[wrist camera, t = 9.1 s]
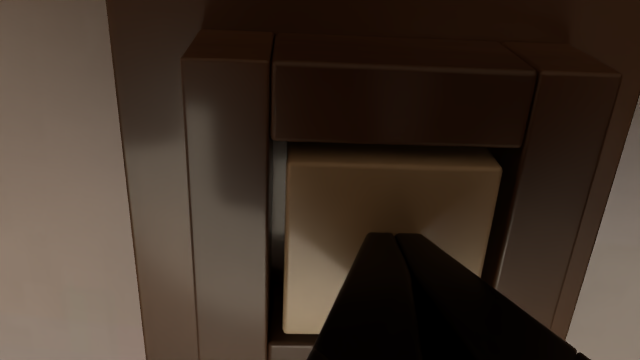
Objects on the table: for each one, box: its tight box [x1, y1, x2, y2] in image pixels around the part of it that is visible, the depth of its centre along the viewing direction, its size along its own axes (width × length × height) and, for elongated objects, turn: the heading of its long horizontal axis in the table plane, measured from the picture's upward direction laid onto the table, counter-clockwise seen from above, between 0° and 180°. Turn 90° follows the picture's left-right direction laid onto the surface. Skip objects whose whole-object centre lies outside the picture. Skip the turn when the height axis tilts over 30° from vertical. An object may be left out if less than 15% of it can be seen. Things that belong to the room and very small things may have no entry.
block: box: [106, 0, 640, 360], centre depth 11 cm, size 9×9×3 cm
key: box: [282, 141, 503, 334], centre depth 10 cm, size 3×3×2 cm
